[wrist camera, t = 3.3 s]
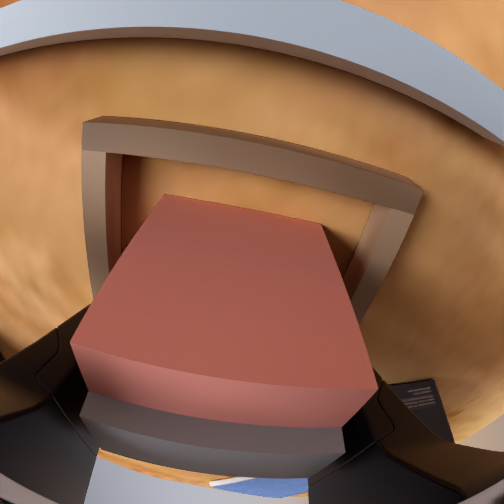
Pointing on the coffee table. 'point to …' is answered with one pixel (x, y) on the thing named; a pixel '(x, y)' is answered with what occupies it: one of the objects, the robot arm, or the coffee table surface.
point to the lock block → (223, 345)
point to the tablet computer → (263, 486)
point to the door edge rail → (278, 43)
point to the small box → (426, 406)
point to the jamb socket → (249, 161)
